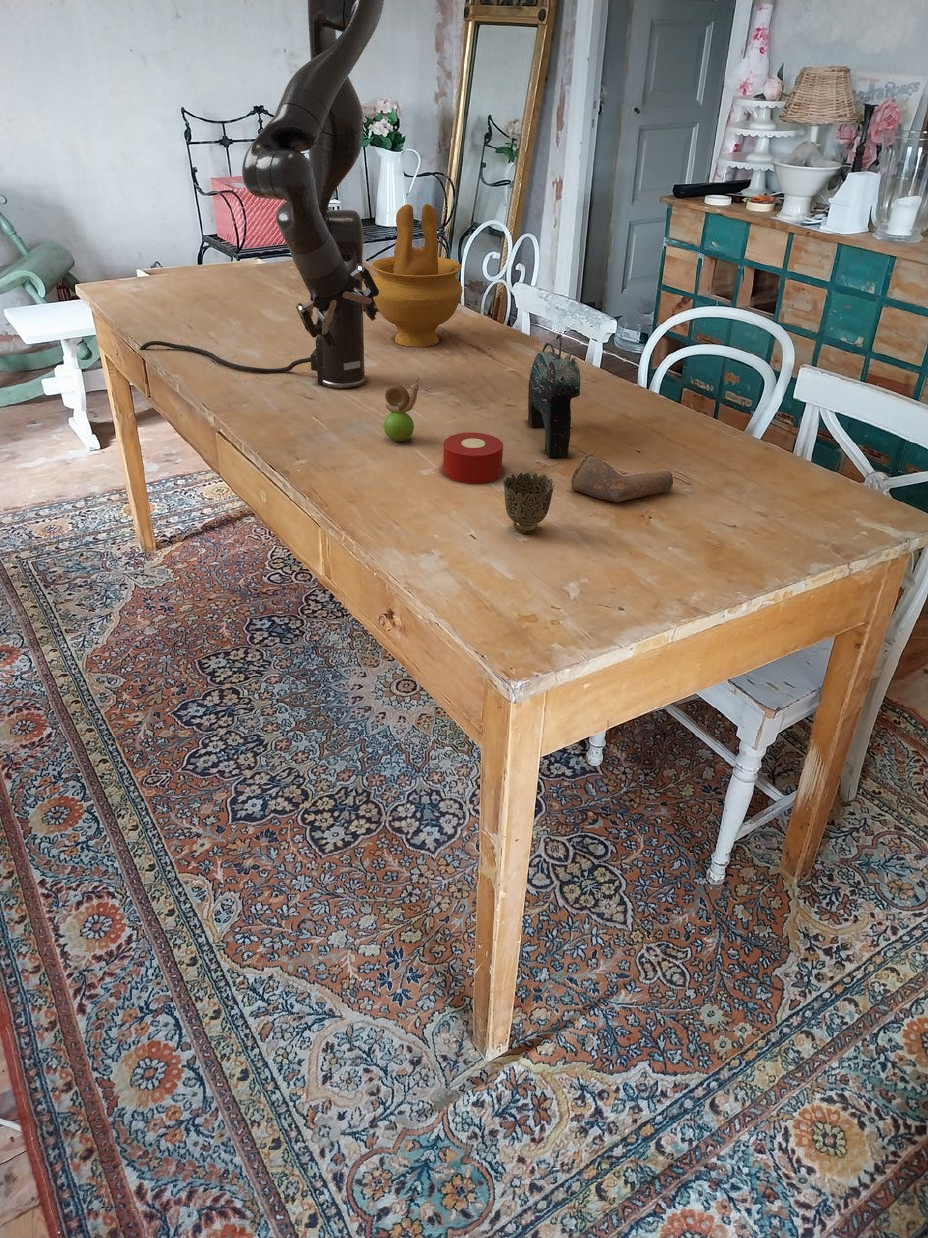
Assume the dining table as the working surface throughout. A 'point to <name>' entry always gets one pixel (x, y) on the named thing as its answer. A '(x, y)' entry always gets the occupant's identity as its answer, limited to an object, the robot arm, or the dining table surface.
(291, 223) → the robot arm
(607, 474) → the pipe
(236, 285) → the dining table surface
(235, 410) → the dining table surface
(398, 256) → the decorative bowl
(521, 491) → the cup
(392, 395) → the snail figurine
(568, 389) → the ceramic cat
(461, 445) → the cheese
